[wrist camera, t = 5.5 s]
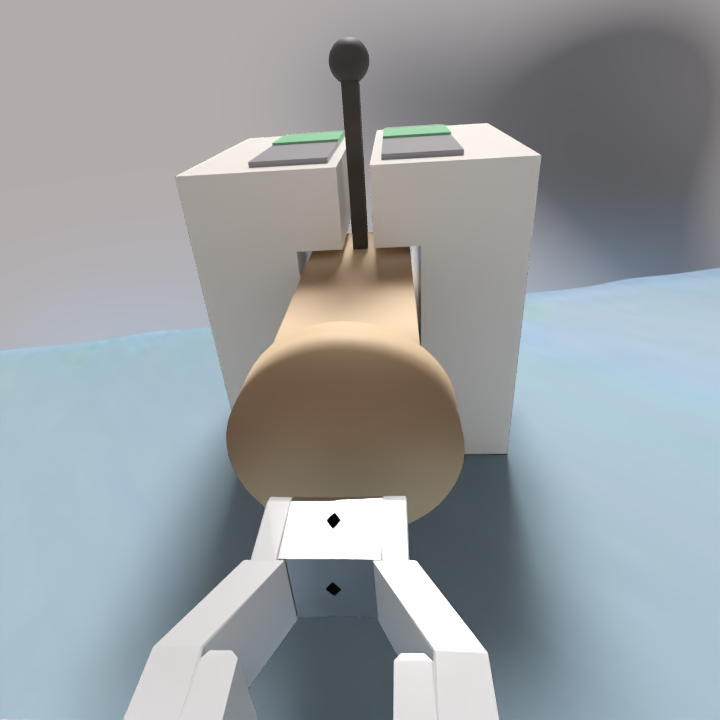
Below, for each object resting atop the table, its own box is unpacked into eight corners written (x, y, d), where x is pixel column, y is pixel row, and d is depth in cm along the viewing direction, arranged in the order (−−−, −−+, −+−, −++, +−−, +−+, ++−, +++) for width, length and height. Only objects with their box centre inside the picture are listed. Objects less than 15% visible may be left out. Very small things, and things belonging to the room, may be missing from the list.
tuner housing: (507, 453, 24) (542, 145, 17) (242, 457, 25) (172, 168, 18) (474, 343, 33) (487, 117, 26) (283, 349, 34) (248, 132, 27)
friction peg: (459, 535, 14) (490, -12, 8) (249, 535, 14) (115, 19, 8) (429, 329, 25) (432, 33, 18) (309, 333, 25) (272, 45, 19)
